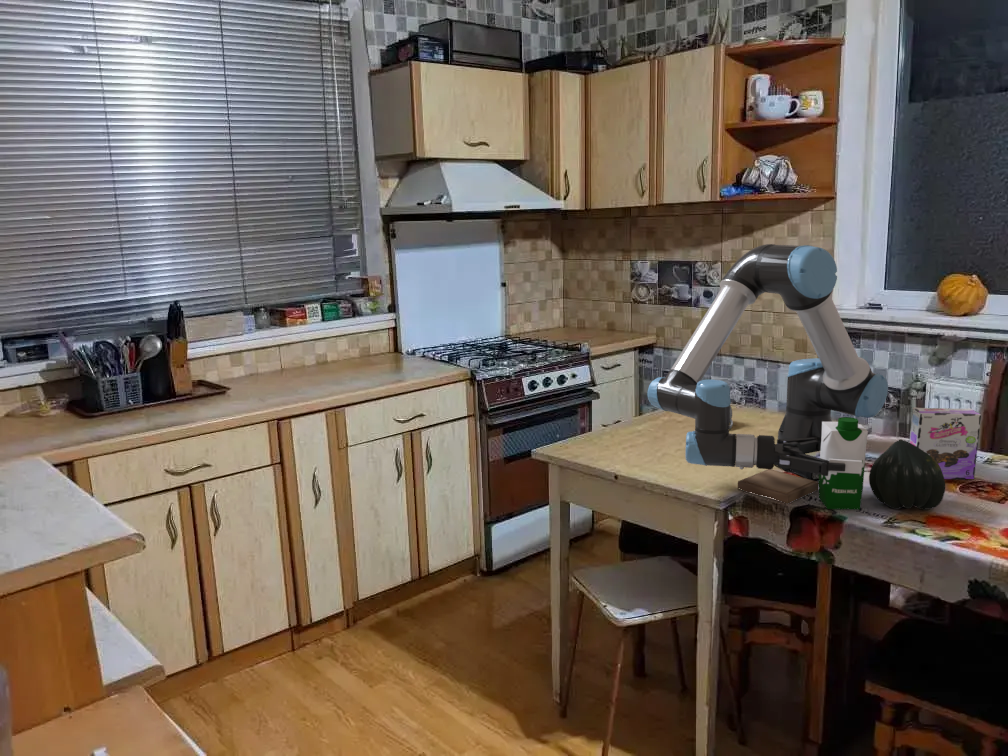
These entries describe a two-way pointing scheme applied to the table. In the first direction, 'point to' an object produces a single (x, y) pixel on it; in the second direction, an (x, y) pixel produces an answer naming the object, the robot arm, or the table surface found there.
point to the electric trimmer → (801, 473)
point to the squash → (907, 478)
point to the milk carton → (849, 445)
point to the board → (778, 485)
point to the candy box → (948, 438)
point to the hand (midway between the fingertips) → (857, 457)
